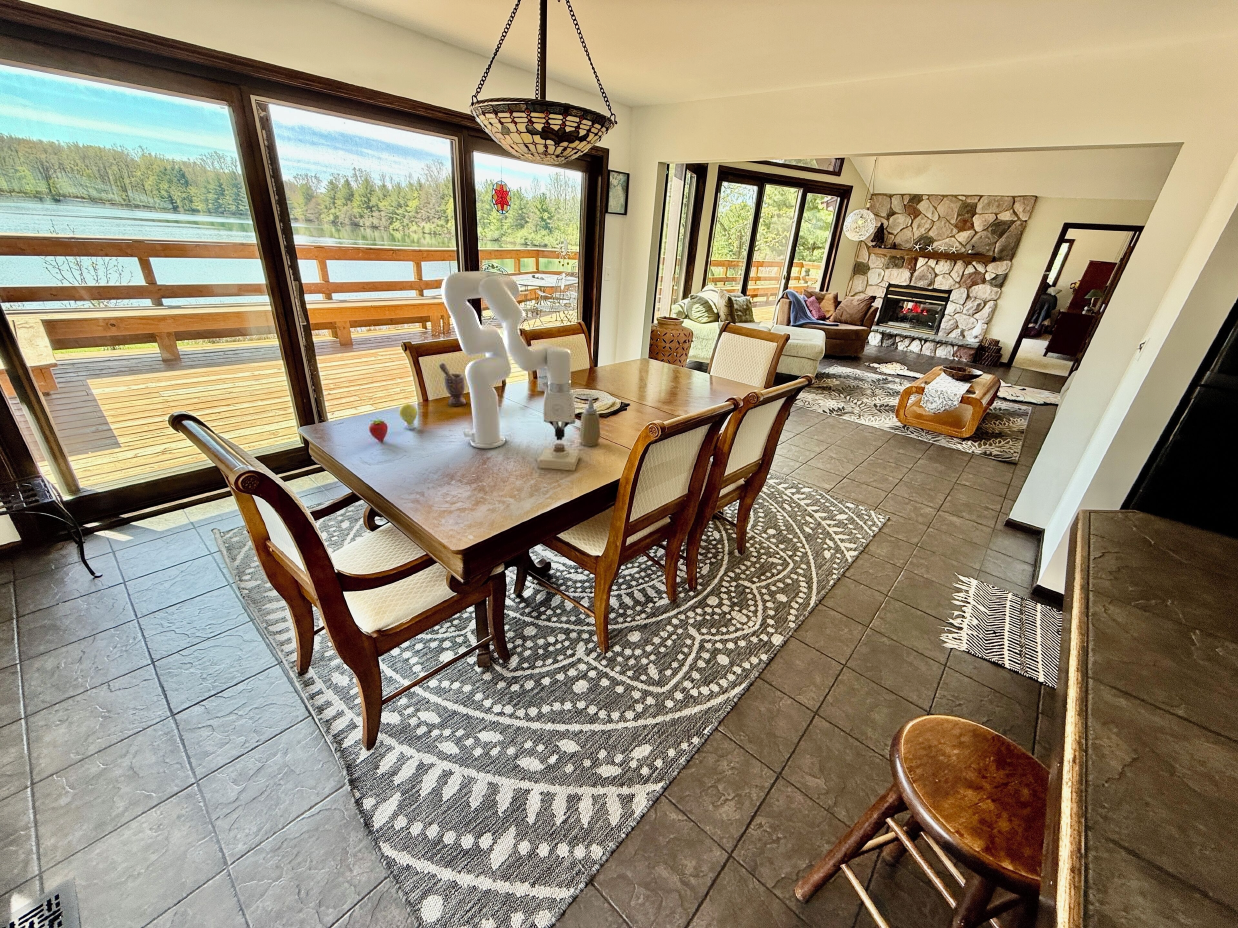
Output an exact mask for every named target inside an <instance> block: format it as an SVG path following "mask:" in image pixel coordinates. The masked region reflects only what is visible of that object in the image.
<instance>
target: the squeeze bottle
mask: <svg viewBox="0 0 1238 928" xmlns="http://www.w3.org/2000/svg"><path fill="white" fill-rule="evenodd" d="M597 411H598V408H597V407H596V406H595V405H594V400H593V398H592V397H590V398H588V402H587V406H584V408H583V412H582V413H581V418H580V426H579V439H580V441H581V443H582V444H581V445H583V446H586V447H595V446H596V445H598V444H599V440H600V438H601V425H600V414H599V413H598V412H597Z"/></svg>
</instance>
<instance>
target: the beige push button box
mask: <svg viewBox="0 0 1238 928" xmlns="http://www.w3.org/2000/svg"><path fill="white" fill-rule="evenodd" d="M579 459H580V450H579V449H570V448H568V447H566V446H565V451H564V452H554V446H553V447H545V448H544V449H543V452H542V454H541V455H540V457H539V459H538V464H539V468H540V469H550V470H551V469H552V470H563V471H575V469H576V467H577V464H578V462H579Z"/></svg>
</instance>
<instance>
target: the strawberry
mask: <svg viewBox="0 0 1238 928" xmlns="http://www.w3.org/2000/svg"><path fill="white" fill-rule="evenodd" d="M376 419H377V420H376ZM376 419H375V420H371V423H370V425H369V426H368V432H369V433H370V435H371V436H372V437H373V438H374V439H375V440H377V441H378V442H379V443H382V442H384V440H385V438H386V437H387V433H388V429H389V427H388V425H387V423H386V421H385V420H383V419H382V418H378V417H376Z"/></svg>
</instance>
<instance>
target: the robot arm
mask: <svg viewBox="0 0 1238 928" xmlns="http://www.w3.org/2000/svg"><path fill="white" fill-rule="evenodd" d="M520 295H521V288H520V285H519V283H518V281H517V280H516V279H515V278H514V277H512V276H510V275H506V274H501V273H495V272H491V271H485V270H476V271H474V270H473V271H457V272H453V273H450V274H448V275H447V276H445V278H444V279H443V281H442V284H441V298H442V301H443V303H444V305H445V307H446V310H447V311H448V313H449V317H450V318H451V321H452V325H453V327H454V331H455V333H456V336H457V340H458V342H459V345H460V348H461V350H462V352H463V353H464V354H465V355H466V356H469V357H473V356H479V355H483V354H485V357H481V358H476V359H474V360H472V361H470V362H469V363H468V364H467V365H466V367H465V374H464V375H465V378H466V382H467V385H468V390H469V396H470V404H471V414H472V428H473V429H471V430H470V429H463V435H464V437H465V438H470V440H469V441H470V442H469V443H470V445H471V446H473V447H474V448H476V449H477V448H478V449H494V448H498V447H500V446H502V445H504V444H505V442H506V439H505V436H503V435H502V434H501V426H500V425H501V424H500V412H499V411H500V410H499V397H498V393H497V391H496V389H495V387H494V384H495V383H498V382H502V381H504V380H507V379H508V378H509V377H510V375H511V372H512V365H511V361H510V358H511V360H512V361H513V362H514V363H515V364H516V366H517V367H519V368H520V369H521V371H524V372H528V373H529V372H534V371H538V369H540V368H545V367H547V382H543V386H545V387H547V390H546V391H545V392H544V395H543V405H542V406H543V412H542V417H543V422H544V423H546V424H549V425H551V426H552V427H553V429H554V437H555V438H556V441H563V439H564V438H565V435H566V433H565V432H566V431H565V429H566V428H567V427H568V426H569V425H575V424H576V421H577V420H576V406H575V404H576V403H575V396H574V391H573V389H571V388H572V385H571V381H572V379H571V378H572V376H571V375H572V371H571V364H572V361H571V359H572V358H571V355H572V354H571V351H570V349H568V348H566V347H561V346H560V347H559V346H554V345H551V344H549V343H537V344H533V345H530V346H528V345H527V344H526V342H525V341H524V339H523V338H522V336H521V334H520V329H519V326H520V325H521V324H522V323H523V321H524V320H525V317H526V314H525V311H524V310H523V308H522V307H521V305H520V304H519V303H518V302H517V300H518V299H519V298H520ZM480 298H481V299H482V300H483V302H484V304H486V306H487V308H488V309H489V310H490V312H491V313H492V314H493V316H494V317H495V319H496V320H497V322H498V323H499V324H500V325H501V328H502V334H501V331H500V330H499V329H498V328H497V327H496V326H495V325H491V324H481V323H480V321H479V316H478V314H477V312H476V310H475V309H474V307H473V306H472V305H471V303H469V302H468V300H470V299H471V300H473V299H480ZM509 356H510V357H509ZM559 423H560V425H559Z"/></svg>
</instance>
